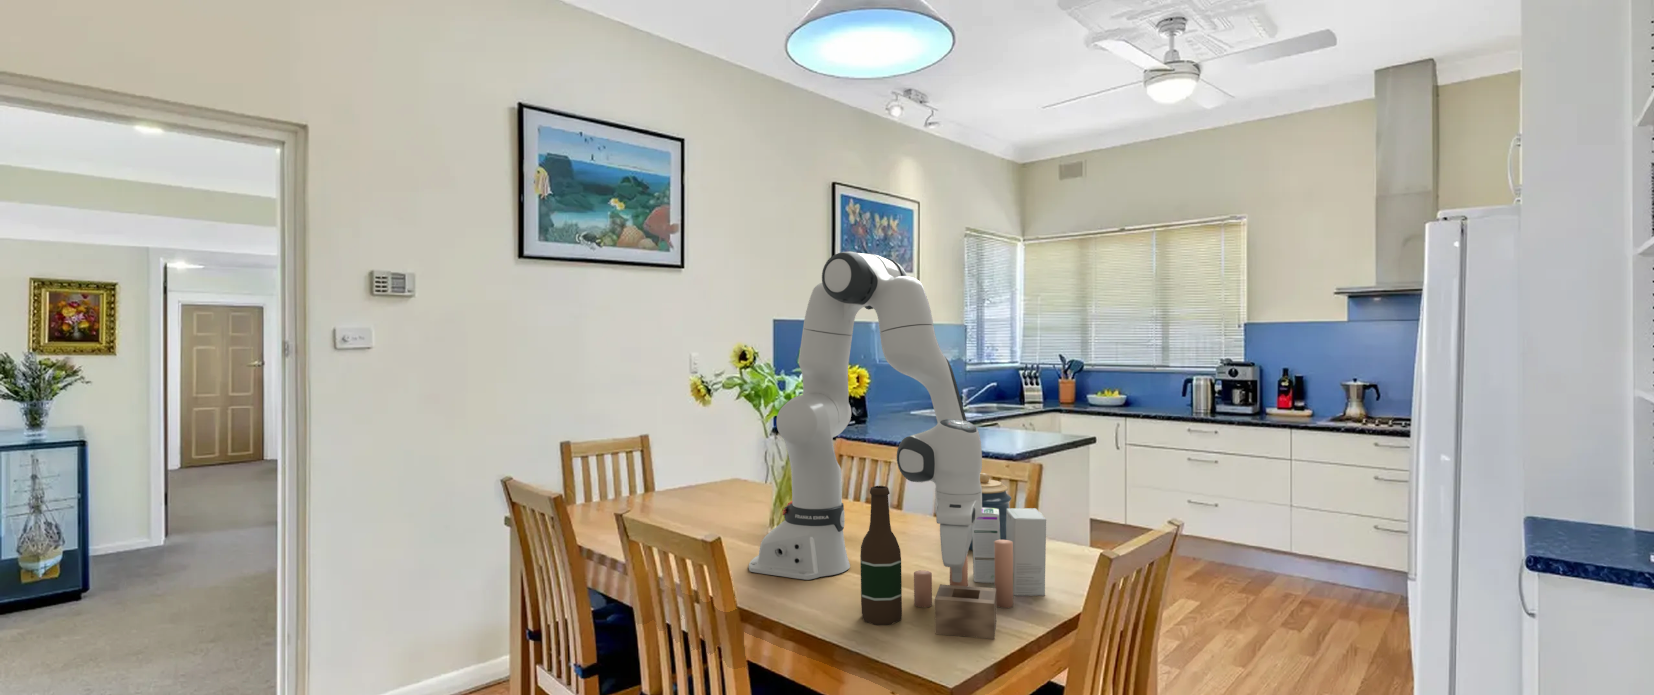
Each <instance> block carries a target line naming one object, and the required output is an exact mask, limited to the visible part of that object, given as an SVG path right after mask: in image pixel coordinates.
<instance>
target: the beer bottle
mask: <svg viewBox="0 0 1654 695" xmlns="http://www.w3.org/2000/svg"><path fill="white" fill-rule="evenodd" d="M869 494H870V496H871V497H870V498H871V500H870V515H869V516H870V518H869V520H870V521H869V526H868V531H867V532H866V534H865V535H864V537H863V539H862V542H861V545H860V555H859V556H860V606H861V608H860V609H861V616H862V621H863V622H865V623H869V624H871V625H874V626H888V625H889V626H890V625H891V626H892V625H894V624H896V623H897V622H899V621H901V620H902V618H903V617H902V616H903V614H902V613H903V612H902V610H903V605H902V604H903V601H902V600H903V595H902V593H903V592H902V591H903V590H902V589H903V588H902V587H903V586H902V583H903V582H902V553H901V548H900V545H899V542H898V540H897V537H896V535H895V534H894V533H893V531H892V527H891V518H890V516H891V515H890V505H889V495H890V494H891V493H890V489H889V487H888V486H886V485H874V486H871V487H870V489H869Z"/></svg>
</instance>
